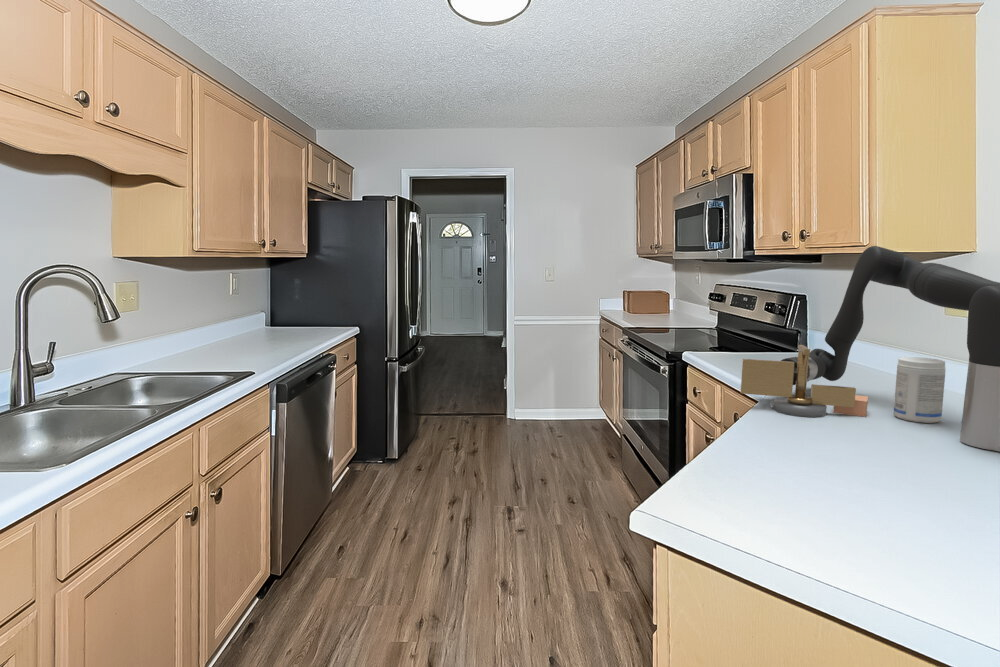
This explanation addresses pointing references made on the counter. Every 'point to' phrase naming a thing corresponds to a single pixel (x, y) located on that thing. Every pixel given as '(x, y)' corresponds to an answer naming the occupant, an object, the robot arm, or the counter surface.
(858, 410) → the orange block
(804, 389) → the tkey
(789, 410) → the base
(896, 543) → the counter surface
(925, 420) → the supplement tub
